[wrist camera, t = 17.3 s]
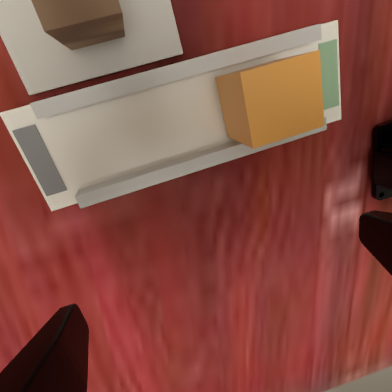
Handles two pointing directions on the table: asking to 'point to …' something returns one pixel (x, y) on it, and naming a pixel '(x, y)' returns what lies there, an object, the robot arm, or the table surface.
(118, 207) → the table surface
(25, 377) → the robot arm
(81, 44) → the joystick
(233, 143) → the switch panel
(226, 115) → the orange cube
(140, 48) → the tool mat
